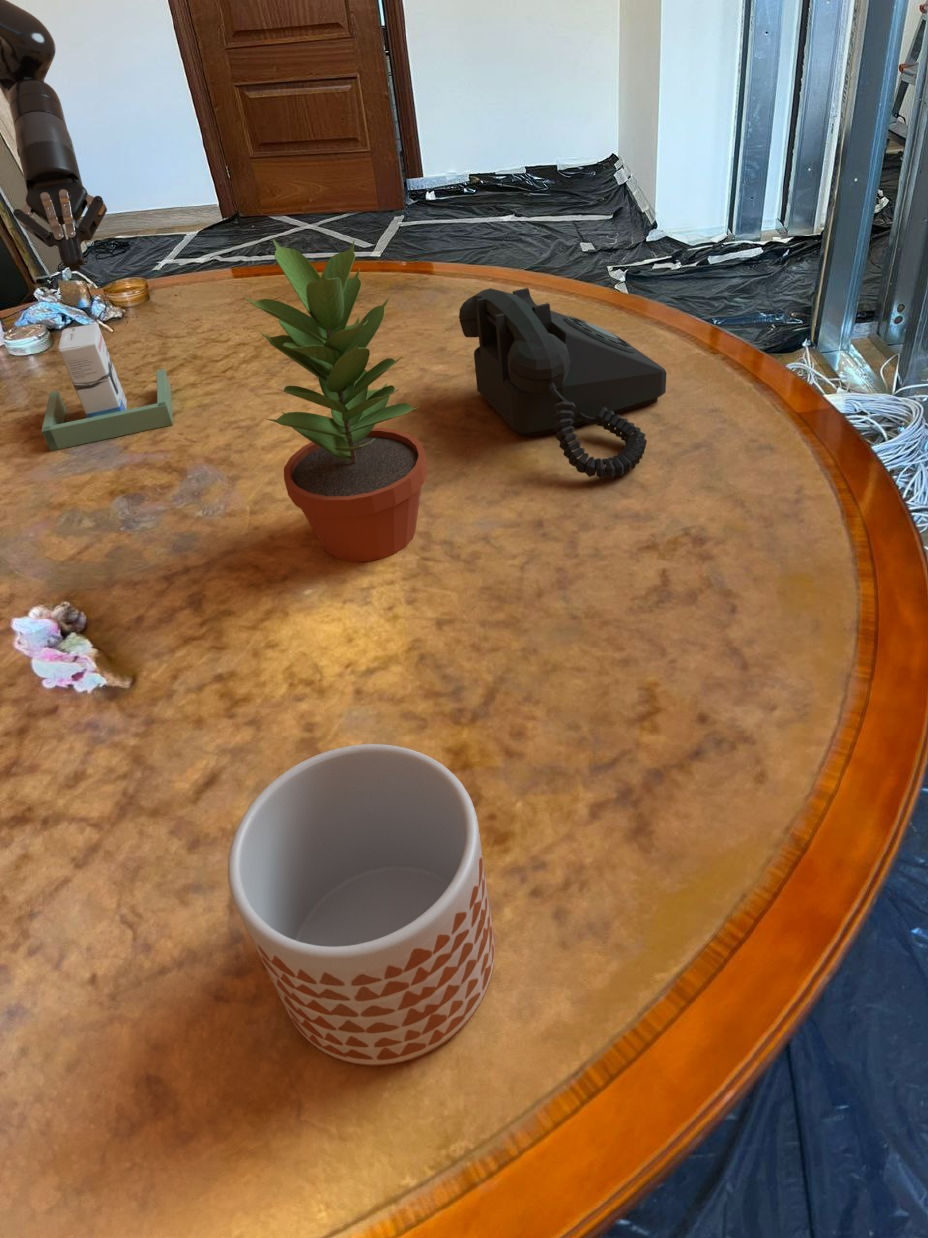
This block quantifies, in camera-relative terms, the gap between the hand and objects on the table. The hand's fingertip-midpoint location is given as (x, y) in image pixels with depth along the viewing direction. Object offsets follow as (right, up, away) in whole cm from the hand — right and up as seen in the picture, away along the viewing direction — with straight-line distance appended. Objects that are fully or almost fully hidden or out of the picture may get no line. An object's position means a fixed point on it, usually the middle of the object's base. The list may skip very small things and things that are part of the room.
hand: (74, 267), depth 122 cm
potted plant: (+46, -41, -30) cm, 68 cm away
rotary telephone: (+71, -25, -14) cm, 76 cm away
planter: (+51, -72, -68) cm, 111 cm away
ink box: (+5, -21, 0) cm, 22 cm away
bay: (+6, -21, 0) cm, 22 cm away
